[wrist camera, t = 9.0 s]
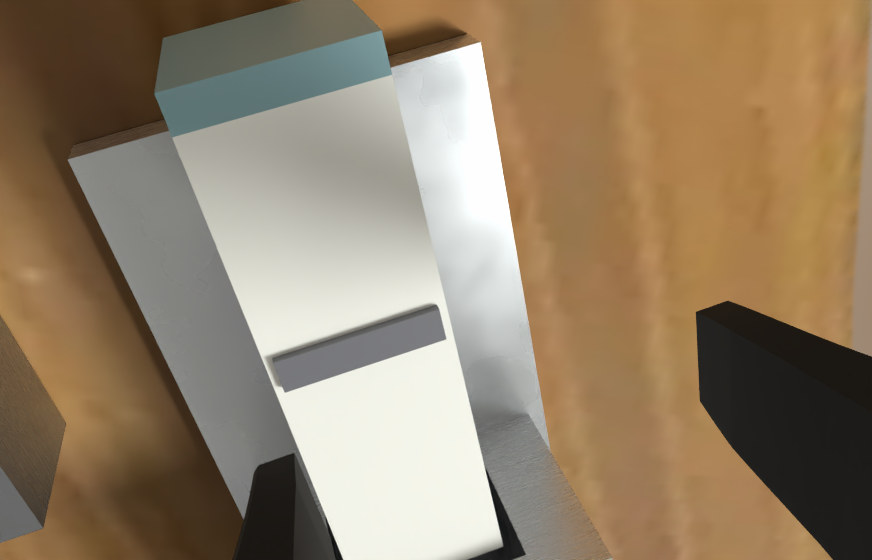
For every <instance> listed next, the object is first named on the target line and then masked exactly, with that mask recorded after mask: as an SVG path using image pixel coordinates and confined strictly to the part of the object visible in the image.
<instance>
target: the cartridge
mask: <svg viewBox="0 0 872 560" xmlns="http://www.w3.org/2000/svg"><path fill="white" fill-rule="evenodd" d="M154 94H155V97H156V99H157V101H158V104H159V106H160V109H161V111H162V114H163V116H164V119H165V121H166V124H167V126H168V129H169V131H170V134H171V136H172V138H173V141H174V143H175V146H176V148H177V151H178V153H179V156H180V158H181V161H182V163H183V166H184V168H185V170H186V173H187V175H188V178H189V180H190V183H191V185H192V188H193V190H194V193H195V195H196V198H197V200H198V203H199V205H200V207H201V210H202V212H203V215H204V217H205V220H206V222H207V225H208V227H209V230H210V232H211V235H212V237H213V240H214V242H215V244H216V247H217V249H218V252H219V254H220V257H221V259H222V262H223V264H224V267H225V269H226V272H227V274H228V276H229V279H230V281H231V284H232V286H233V289H234V291H235V294H236V296H237V299H238V301H239V304H240V306H241V309H242V311H243V313H244V316H245V318H246V321H247V323H248V326H249V328H250V331H251V333H252V336H253V338H254V341H255V343H256V345H257V348H258V350H259V353H260V355H261V358H262V360H263V363H264V365H265V368H266V370H267V373H268V375H269V378H270V380H271V382H272V385H273V387H274V390H275V392H276V395H277V397H278V400H279V402H280V405H281V407H282V410H283V412H284V415H285V417H286V419H287V422H288V424H289V427H290V429H291V432H292V434H293V437H294V439H295V442H296V444H297V447H298V449H299V451H300V454H301V456H302V459H303V461H304V464H305V466H306V469H307V471H308V474H309V476H310V479H311V481H312V484H313V486H314V488H315V491H316V493H317V496H318V498H319V501H320V503H321V506H322V508H323V511H324V513H325V516H326V518H327V520H328V523H329V525H330V528H331V530H332V533H333V535H334V538H335V540H336V543H337V545H338V548H339V550H340V553H341V555H342V557H343V560H468V559H470V558H473V557H476V556H479V555H481V554H484V553H487V552H489V551H492V550H495V549H498V548H500V547H503V543H502V538H501V534H500V530H499V526H498V521H497V517H496V513H495V509H494V504H493V500H492V496H491V492H490V487H489V483H488V479H487V475H486V470H485V466H484V462H483V458H482V454H481V449H480V445H479V441H478V437H477V432H476V428H475V424H474V420H473V415H472V411H471V407H470V403H469V398H468V394H467V390H466V386H465V381H464V377H463V373H462V369H461V364H460V360H459V356H458V352H457V348H456V343H455V339H454V335H453V331H452V326H451V322H450V318H449V314H448V309H447V305H446V301H445V297H444V292H443V288H442V284H441V280H440V275H439V271H438V267H437V263H436V258H435V254H434V250H433V246H432V242H431V237H430V233H429V229H428V225H427V220H426V216H425V212H424V208H423V203H422V199H421V195H420V191H419V186H418V182H417V178H416V174H415V169H414V165H413V161H412V157H411V152H410V148H409V144H408V140H407V136H406V131H405V127H404V123H403V119H402V114H401V110H400V106H399V102H398V97H397V93H396V89H395V85H394V80H393V76H392V72H391V68H390V63H389V59H388V55H387V51H386V46H385V42H384V38H383V34H382V30H381V29H380V28H379V27H378V26H377V25H376V24H375V23H374V22H373V21H372V20H371V19H370V18H369V17H368V16H367V15H366V14H365V13H364V12H363V11H362V10H361V9H360V8H359V7H358V6H357V5H356V4H355V3H354V2H353V1H352V0H302V1H298V2H295V3H291V4H287V5H283V6H280V7H276V8H272V9H269V10H265V11H261V12H257V13H254V14H250V15H246V16H243V17H239V18H235V19H231V20H228V21H224V22H220V23H217V24H213V25H209V26H205V27H202V28H198V29H194V30H191V31H187V32H183V33H179V34H176V35H172V36H168V37H165V38H163V41H162V48H161V54H160V60H159V67H158V73H157V79H156V85H155V92H154Z"/></svg>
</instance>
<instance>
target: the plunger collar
mask: <svg viewBox="0 0 872 560" xmlns="http://www.w3.org/2000/svg"><path fill="white" fill-rule="evenodd" d="M65 427H66V423H65V421H64V419H63V418H62V416H61V414H60V413H59V411H58V410H57V408H56V406H55V405H54V403H53V401H52V400H51V398H50V396H49V395H48V393H47V391H46V390H45V388H44V386H43V385H42V383H41V382H40V380H39V378H38V377H37V375H36V373H35V372H34V370H33V368H32V367H31V365H30V363H29V362H28V360H27V359H26V357H25V355H24V354H23V352H22V350H21V349H20V347H19V345H18V344H17V342H16V340H15V339H14V337H13V336H12V334H11V332H10V331H9V329H8V327H7V326H6V324H5V322H4V321H3V319H2V317H1V316H0V543H1V542H4V541H7V540H10V539H13V538H16V537H19V536H22V535H25V534H28V533H31V532H34V531H37V530H40V529H42V528H43V527H44V522H45V518H46V513H47V509H48V504H49V500H50V495H51V491H52V486H53V482H54V477H55V472H56V468H57V463H58V459H59V454H60V450H61V445H62V441H63V436H64V432H65Z"/></svg>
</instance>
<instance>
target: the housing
mask: <svg viewBox="0 0 872 560" xmlns="http://www.w3.org/2000/svg"><path fill="white" fill-rule="evenodd" d="M388 59H389V63H390V68H391V72H392V76H393V80H394V85H395V89H396V93H397V97H398V102H399V106H400V110H401V114H402V119H403V123H404V127H405V131H406V136H407V140H408V144H409V148H410V152H411V157H412V161H413V165H414V169H415V174H416V178H417V182H418V186H419V191H420V195H421V199H422V203H423V208H424V212H425V216H426V220H427V225H428V229H429V233H430V237H431V242H432V246H433V250H434V254H435V258H436V263H437V267H438V271H439V275H440V280H441V284H442V288H443V292H444V297H445V301H446V305H447V309H448V314H449V318H450V322H451V326H452V331H453V335H454V339H455V343H456V348H457V352H458V356H459V360H460V364H461V369H462V373H463V377H464V381H465V386H466V390H467V394H468V398H469V403H470V407H471V411H472V415H473V420H474V424H475V428H476V432H477V437H478V441H479V445H480V449H481V454H482V458H483V462H484V466H485V470H486V475H487V479H488V483H489V487H490V492H491V496H492V500H493V504H494V509H495V513H496V517H497V521H498V526H499V530H500V534H501V538H502V543H503V547H500V548H498V549H495V550H492V551H489V552H487V553H484V554H481V555H479V556H476V557H473V558H470V559H468V560H613V559H612V556H611V554H610V553H609V551H608V549H607V548H606V546H605V544H604V542H603V541H602V539H601V537H600V536H599V534H598V532H597V530H596V529H595V527H594V525H593V524H592V522H591V520H590V518H589V517H588V515H587V513H586V511H585V510H584V508H583V506H582V505H581V503H580V501H579V499H578V498H577V496H576V494H575V493H574V491H573V489H572V487H571V486H570V484H569V482H568V481H567V479H566V477H565V475H564V474H563V472H562V470H561V469H560V467H559V465H558V463H557V462H556V460H555V458H554V457H553V455H552V453H551V451H550V446H549V440H548V434H547V429H546V423H545V417H544V411H543V405H542V399H541V393H540V388H539V382H538V376H537V370H536V364H535V358H534V353H533V347H532V341H531V335H530V329H529V323H528V317H527V312H526V306H525V300H524V294H523V288H522V282H521V276H520V271H519V265H518V259H517V253H516V247H515V241H514V236H513V230H512V224H511V218H510V212H509V206H508V200H507V195H506V189H505V183H504V177H503V171H502V165H501V159H500V154H499V148H498V142H497V136H496V130H495V124H494V118H493V113H492V107H491V101H490V95H489V89H488V83H487V78H486V72H485V66H484V60H483V54H482V48H481V42H479V41H478V40H476V39H475V38H474V37H472V36H471V35H469V34H466V35H462V36H459V37H455V38H452V39H448V40H445V41H441V42H437V43H434V44H430V45H427V46H423V47H420V48H416V49H413V50H409V51H406V52H402V53H398V54H395V55H391V56H388ZM68 162H69V164H70V166H71V168H72V170H73V172H74V174H75V176H76V178H77V180H78V182H79V184H80V186H81V188H82V190H83V192H84V194H85V196H86V198H87V200H88V202H89V204H90V207H91V209H92V211H93V213H94V215H95V217H96V219H97V221H98V223H99V225H100V227H101V229H102V231H103V233H104V235H105V237H106V239H107V241H108V243H109V245H110V247H111V249H112V252H113V254H114V256H115V258H116V260H117V262H118V264H119V266H120V268H121V270H122V272H123V274H124V276H125V278H126V280H127V282H128V284H129V286H130V288H131V290H132V292H133V294H134V296H135V299H136V301H137V303H138V305H139V307H140V309H141V311H142V313H143V315H144V317H145V319H146V321H147V323H148V325H149V327H150V329H151V331H152V333H153V335H154V337H155V339H156V341H157V344H158V346H159V348H160V350H161V352H162V354H163V356H164V358H165V360H166V362H167V364H168V366H169V368H170V370H171V372H172V374H173V376H174V378H175V380H176V382H177V384H178V386H179V388H180V391H181V393H182V395H183V397H184V399H185V401H186V403H187V405H188V407H189V409H190V411H191V413H192V415H193V417H194V419H195V421H196V423H197V425H198V427H199V429H200V431H201V433H202V435H203V438H204V440H205V442H206V444H207V446H208V448H209V450H210V452H211V454H212V456H213V458H214V460H215V462H216V464H217V466H218V468H219V470H220V472H221V474H222V476H223V478H224V480H225V483H226V485H227V487H228V489H229V491H230V493H231V495H232V497H233V499H234V501H235V503H236V505H237V507H238V509H239V511H240V513H241V515H242V517H243V519H244V517H245V513H246V509H247V504H248V500H249V495H250V490H251V485H252V480H253V474H254V471H255V470H256V468H257V466H258V465H260V464H263V463H266V462H269V461H272V460H275V459H278V458H280V457H283V456H286V455H289V454H292V453H295V455H296V457H297V460H298V462H299V465H300V467H301V469H302V472H303V474H304V476H305V479H306V481H307V483H308V486H309V488H310V490H311V493H312V495H313V498H314V500H315V502H316V505H317V507H318V509H319V512H320V514H321V516H322V519H323V521H324V523H325V526H326V528H327V531H328V533H329V535H330V539H331V543H332V547H333V551H334V555H335V559H336V560H343V557H342V555H341V553H340V550H339V548H338V545H337V543H336V540H335V538H334V535H333V533H332V530H331V528H330V525H329V523H328V520H327V518H326V516H325V513H324V511H323V508H322V506H321V503H320V501H319V498H318V496H317V493H316V491H315V488H314V486H313V484H312V481H311V479H310V476H309V474H308V471H307V469H306V466H305V464H304V461H303V459H302V456H301V454H300V451H299V449H298V447H297V444H296V442H295V439H294V437H293V434H292V432H291V429H290V427H289V424H288V422H287V419H286V417H285V415H284V412H283V410H282V407H281V405H280V402H279V400H278V397H277V395H276V392H275V390H274V387H273V385H272V382H271V380H270V378H269V375H268V373H267V370H266V368H265V365H264V363H263V360H262V358H261V355H260V353H259V350H258V348H257V345H256V343H255V341H254V338H253V336H252V333H251V331H250V328H249V326H248V323H247V321H246V318H245V316H244V313H243V311H242V309H241V306H240V304H239V301H238V299H237V296H236V294H235V291H234V289H233V286H232V284H231V281H230V279H229V276H228V274H227V272H226V269H225V267H224V264H223V262H222V259H221V257H220V254H219V252H218V249H217V247H216V244H215V242H214V240H213V237H212V235H211V232H210V230H209V227H208V225H207V222H206V220H205V217H204V215H203V212H202V210H201V207H200V205H199V203H198V200H197V198H196V195H195V193H194V190H193V188H192V185H191V183H190V180H189V178H188V175H187V173H186V170H185V168H184V166H183V163H182V161H181V158H180V156H179V153H178V151H177V148H176V146H175V143H174V141H173V138H172V136H171V134H170V131H169V129H168V126H167V124H166V121H165V119H164V120H161V121H157V122H154V123H150V124H147V125H143V126H140V127H136V128H133V129H129V130H125V131H122V132H118V133H115V134H111V135H108V136H104V137H101V138H97V139H94V140H90V141H86V142H83V143H79V144H76V145H73V147H72V150H71V152H70V155H69V157H68Z"/></svg>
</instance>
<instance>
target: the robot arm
mask: <svg viewBox="0 0 872 560" xmlns="http://www.w3.org/2000/svg"><path fill="white" fill-rule="evenodd" d="M696 324H697V346H698V369H699V391H700V402H701V403H702V405H703V406H704V408H705V409H706V411H707V412H708V414H709V415H710V417H711V418H712V420H713V421H714V423H715V424H716V426H717V427H718V428H719V430H720V431H721V433H722V434H723V435H724V437H725V438H726V440H727V441H728V442H729V444H730V445H731V447H732V448H733V449H734V450H735V451H736V452H737V454H738V455H739V456H740V457H741V458H742V459H743V460H744V461H745V463H746V464H747V465H748V466H749V467H750V468H751V469H752V470H753V471H754V473H755V474H756V475H757V476H758V477H759V478H760V479H761V480H762V481H763V483H764V484H765V485H766V486H767V487H768V488H769V489H770V490H771V491H772V492H773V493H774V495H775V496H776V497H777V498H778V499H779V500H780V501H781V502H782V503H783V504H784V505H785V507H786V508H787V509H788V510H789V511H790V512H791V513H792V514H793V515H794V516H795V517H796V519H797V520H798V521H799V522H800V523H801V524H802V525H803V526H804V527H805V528H806V529H807V531H808V532H809V533H810V534H811V535H812V536H813V537H814V538H815V539H816V540H817V541H818V543H819V544H820V545H821V546H822V547H823V548H824V550H825V551H826V552H827V553H828V554H829V555H830V557H831V558H832V559H833V560H872V357H871V356H868V355H865V354H863V353H860V352H857V351H854V350H852V349H849V348H846V347H844V346H841V345H838V344H836V343H833V342H831V341H828V340H826V339H823V338H820V337H818V336H815V335H813V334H810V333H808V332H805V331H803V330H800V329H798V328H796V327H793V326H791V325H788V324H786V323H783V322H781V321H778V320H776V319H773V318H771V317H768V316H766V315H764V314H761V313H759V312H756V311H754V310H751V309H749V308H746V307H743V306H741V305H738V304H735V303H732V302H730V301H726V302H723V303H720V304H717V305H714V306H712V307H709V308H706V309H703V310H700V311H697V312H696ZM233 560H336V559H335V555H334V551H333V547H332V543H331V539H330V535H329V533H328V531H327V528H326V526H325V523H324V521H323V519H322V516H321V514H320V512H319V509H318V507H317V505H316V502H315V500H314V498H313V495H312V493H311V490H310V488H309V486H308V483H307V481H306V479H305V476H304V474H303V472H302V469H301V467H300V465H299V462H298V460H297V457H296V455H295V453H292V454H289V455H286V456H283V457H280V458H278V459H275V460H272V461H269V462H266V463H263V464H260V465H258V466H257V468H256V470H255V471H254V474H253V480H252V485H251V490H250V495H249V500H248V504H247V509H246V513H245V517H244V521H243V525H242V529H241V532H240V536H239V540H238V543H237V546H236V550H235V553H234V556H233Z"/></svg>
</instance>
